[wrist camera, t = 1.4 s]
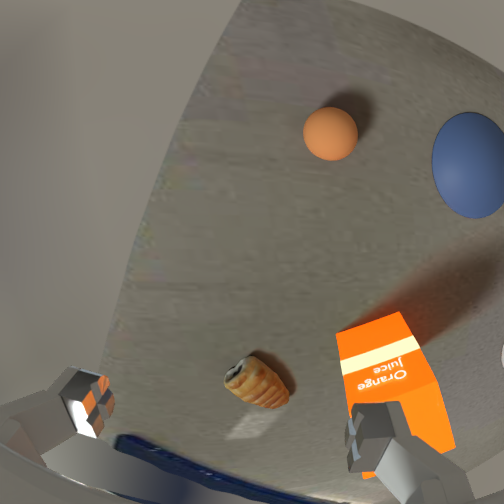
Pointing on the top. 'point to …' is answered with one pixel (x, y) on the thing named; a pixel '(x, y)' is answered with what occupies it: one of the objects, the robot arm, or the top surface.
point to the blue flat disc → (470, 165)
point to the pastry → (256, 384)
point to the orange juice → (394, 377)
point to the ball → (330, 133)
